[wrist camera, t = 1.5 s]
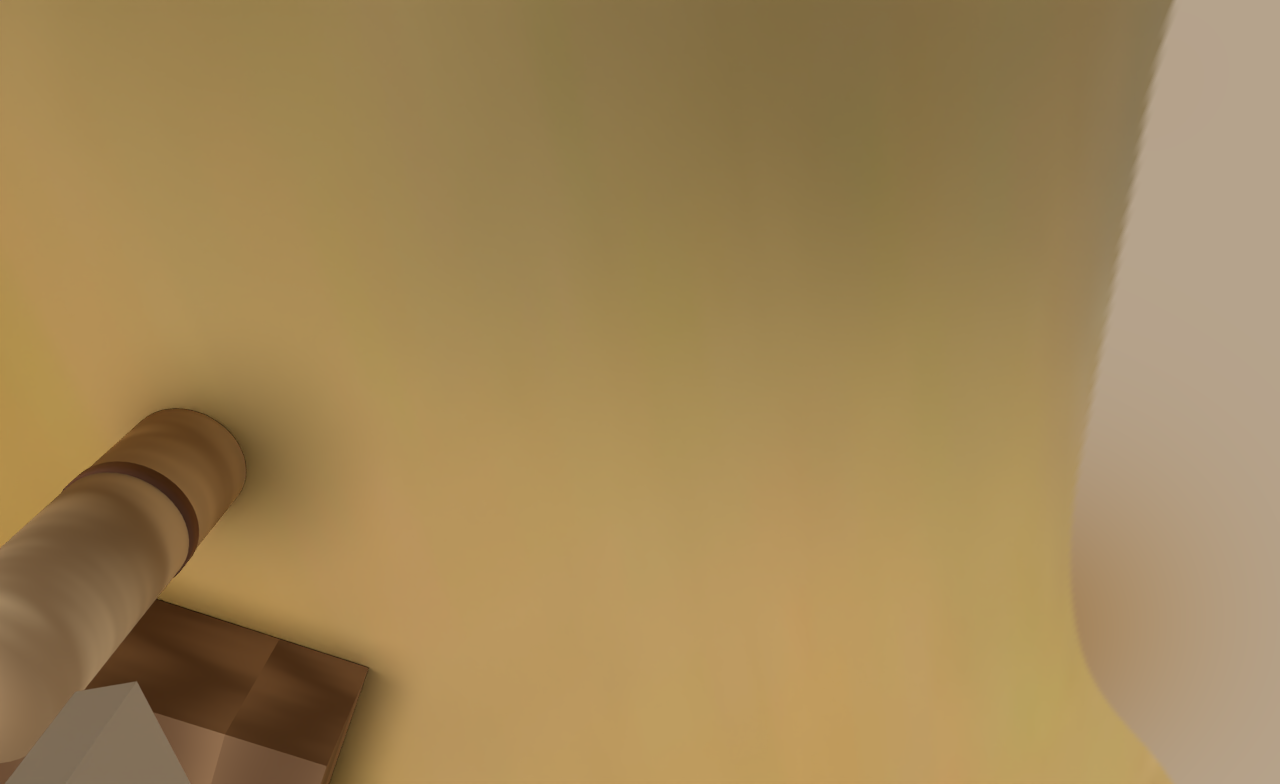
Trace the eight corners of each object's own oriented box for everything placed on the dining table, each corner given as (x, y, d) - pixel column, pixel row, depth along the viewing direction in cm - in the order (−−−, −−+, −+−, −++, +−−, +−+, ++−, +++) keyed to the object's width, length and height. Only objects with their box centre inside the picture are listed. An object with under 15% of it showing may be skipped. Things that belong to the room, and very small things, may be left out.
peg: (118, 491, 36) (-129, 734, 25) (138, 390, 35) (-116, 603, 24) (233, 530, 37) (41, 785, 26) (259, 432, 35) (65, 659, 24)
